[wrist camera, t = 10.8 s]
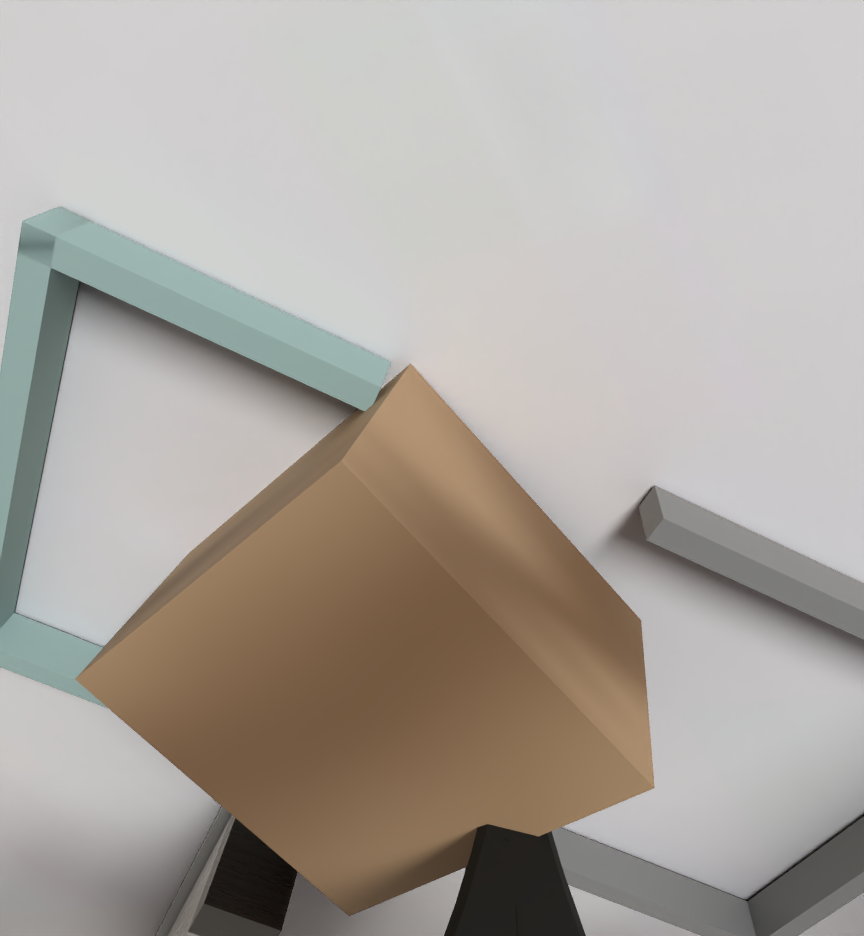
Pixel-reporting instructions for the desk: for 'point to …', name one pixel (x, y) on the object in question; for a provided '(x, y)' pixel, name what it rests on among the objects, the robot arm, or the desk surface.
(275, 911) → the bar
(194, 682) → the plug
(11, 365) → the frame
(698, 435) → the desk surface
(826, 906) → the socket
